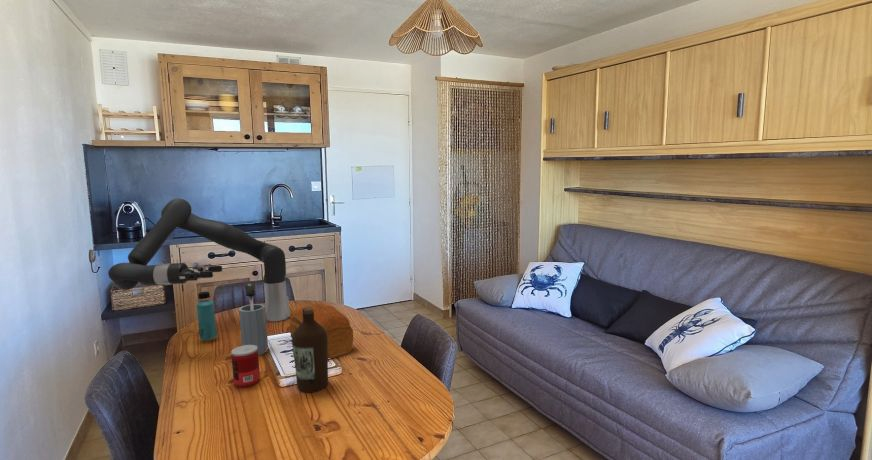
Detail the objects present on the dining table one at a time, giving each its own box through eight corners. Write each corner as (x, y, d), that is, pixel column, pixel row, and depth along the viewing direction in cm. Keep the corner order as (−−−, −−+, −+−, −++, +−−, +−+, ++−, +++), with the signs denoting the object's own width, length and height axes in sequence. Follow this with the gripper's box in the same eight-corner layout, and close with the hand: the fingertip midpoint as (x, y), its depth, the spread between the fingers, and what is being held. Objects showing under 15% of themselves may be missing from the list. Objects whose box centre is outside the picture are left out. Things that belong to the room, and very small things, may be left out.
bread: (317, 363, 165) (314, 320, 163) (287, 342, 186) (284, 303, 184) (358, 351, 175) (355, 310, 173) (325, 332, 196) (323, 295, 194)
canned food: (265, 377, 155) (262, 345, 154) (248, 389, 148) (245, 355, 146) (246, 375, 158) (243, 343, 156) (228, 385, 150) (225, 352, 149)
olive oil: (307, 376, 156) (302, 302, 152) (336, 380, 152) (331, 304, 149) (288, 391, 146) (282, 312, 142) (318, 395, 142) (313, 315, 139)
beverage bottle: (220, 337, 192) (216, 290, 189) (211, 344, 186) (206, 294, 183) (205, 337, 193) (200, 289, 190) (196, 343, 186) (190, 294, 183)
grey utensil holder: (261, 343, 185) (257, 301, 182) (276, 348, 179) (273, 305, 177) (236, 352, 177) (232, 308, 174) (251, 358, 171) (247, 313, 169)
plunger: (257, 342, 181) (252, 281, 178) (267, 345, 178) (261, 283, 174) (243, 347, 176) (237, 285, 173) (252, 351, 173) (247, 287, 169)
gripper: (159, 268, 163) (208, 265, 164) (179, 259, 177) (223, 257, 178) (162, 289, 165) (210, 286, 166) (181, 278, 179) (225, 276, 180)
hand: (217, 271), depth 172 cm, fingers open, 8 cm apart
